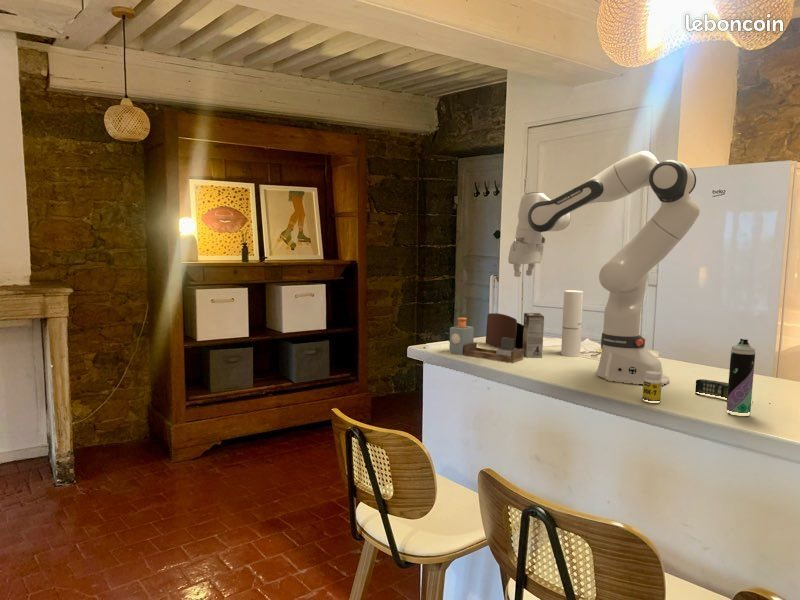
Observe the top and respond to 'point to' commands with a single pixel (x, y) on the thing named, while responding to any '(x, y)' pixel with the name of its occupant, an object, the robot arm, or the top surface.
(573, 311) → the cylindrical container
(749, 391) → the spray can
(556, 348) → the top surface
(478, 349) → the rail bed
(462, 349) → the grey block
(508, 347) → the carriage
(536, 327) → the coffee box
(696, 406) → the top surface
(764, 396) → the top surface
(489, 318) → the letter holder
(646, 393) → the supplement bottle
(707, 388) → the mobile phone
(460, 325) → the plunger
